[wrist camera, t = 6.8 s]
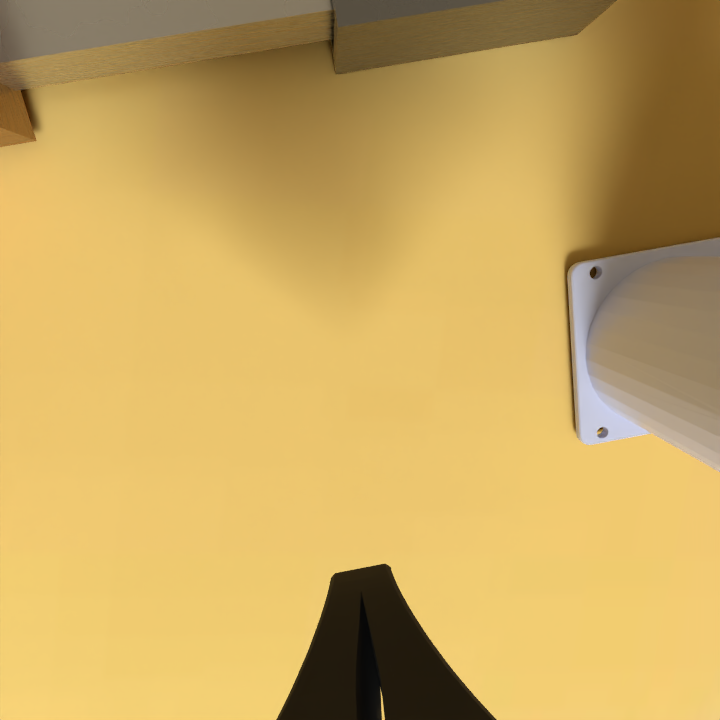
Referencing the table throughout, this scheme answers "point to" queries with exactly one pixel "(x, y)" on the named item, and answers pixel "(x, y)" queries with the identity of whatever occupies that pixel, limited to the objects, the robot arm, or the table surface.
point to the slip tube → (135, 40)
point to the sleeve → (447, 27)
